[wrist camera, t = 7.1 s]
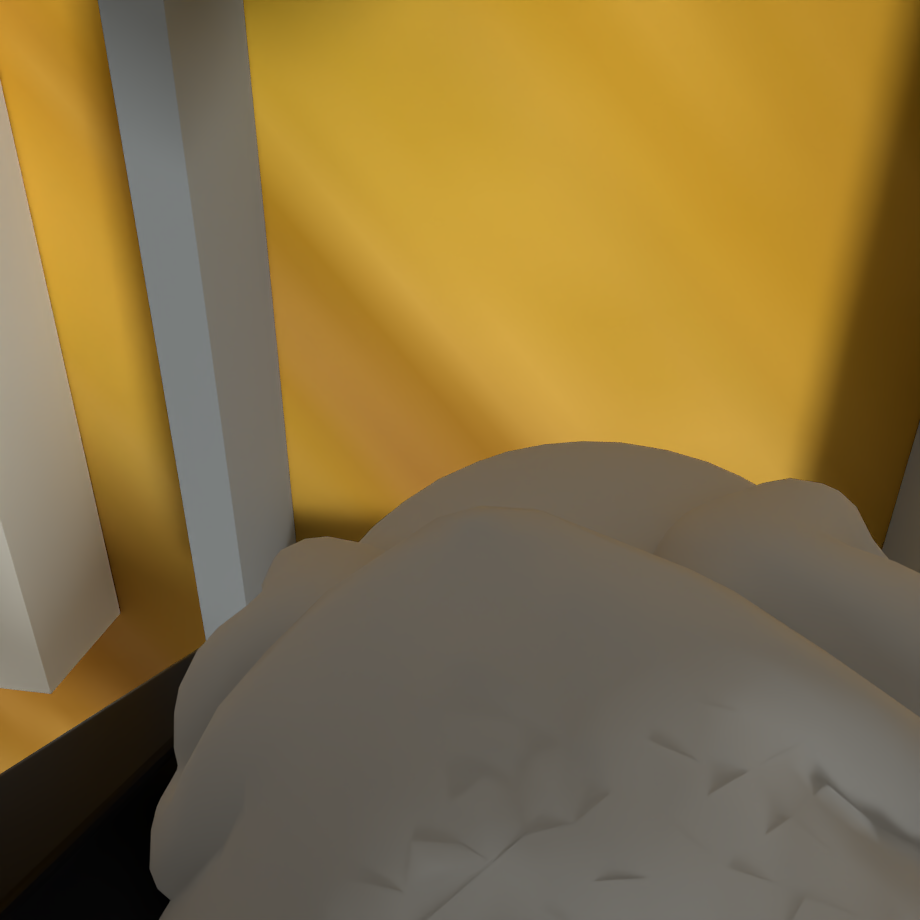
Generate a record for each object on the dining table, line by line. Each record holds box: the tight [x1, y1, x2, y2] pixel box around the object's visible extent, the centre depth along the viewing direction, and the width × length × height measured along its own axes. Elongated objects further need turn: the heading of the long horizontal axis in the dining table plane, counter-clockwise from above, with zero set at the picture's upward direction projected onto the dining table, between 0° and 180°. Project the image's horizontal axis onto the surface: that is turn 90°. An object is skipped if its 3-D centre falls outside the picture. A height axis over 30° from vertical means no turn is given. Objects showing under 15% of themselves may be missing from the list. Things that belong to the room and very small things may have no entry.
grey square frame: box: [98, 0, 920, 640], centre depth 14 cm, size 15×15×3 cm
